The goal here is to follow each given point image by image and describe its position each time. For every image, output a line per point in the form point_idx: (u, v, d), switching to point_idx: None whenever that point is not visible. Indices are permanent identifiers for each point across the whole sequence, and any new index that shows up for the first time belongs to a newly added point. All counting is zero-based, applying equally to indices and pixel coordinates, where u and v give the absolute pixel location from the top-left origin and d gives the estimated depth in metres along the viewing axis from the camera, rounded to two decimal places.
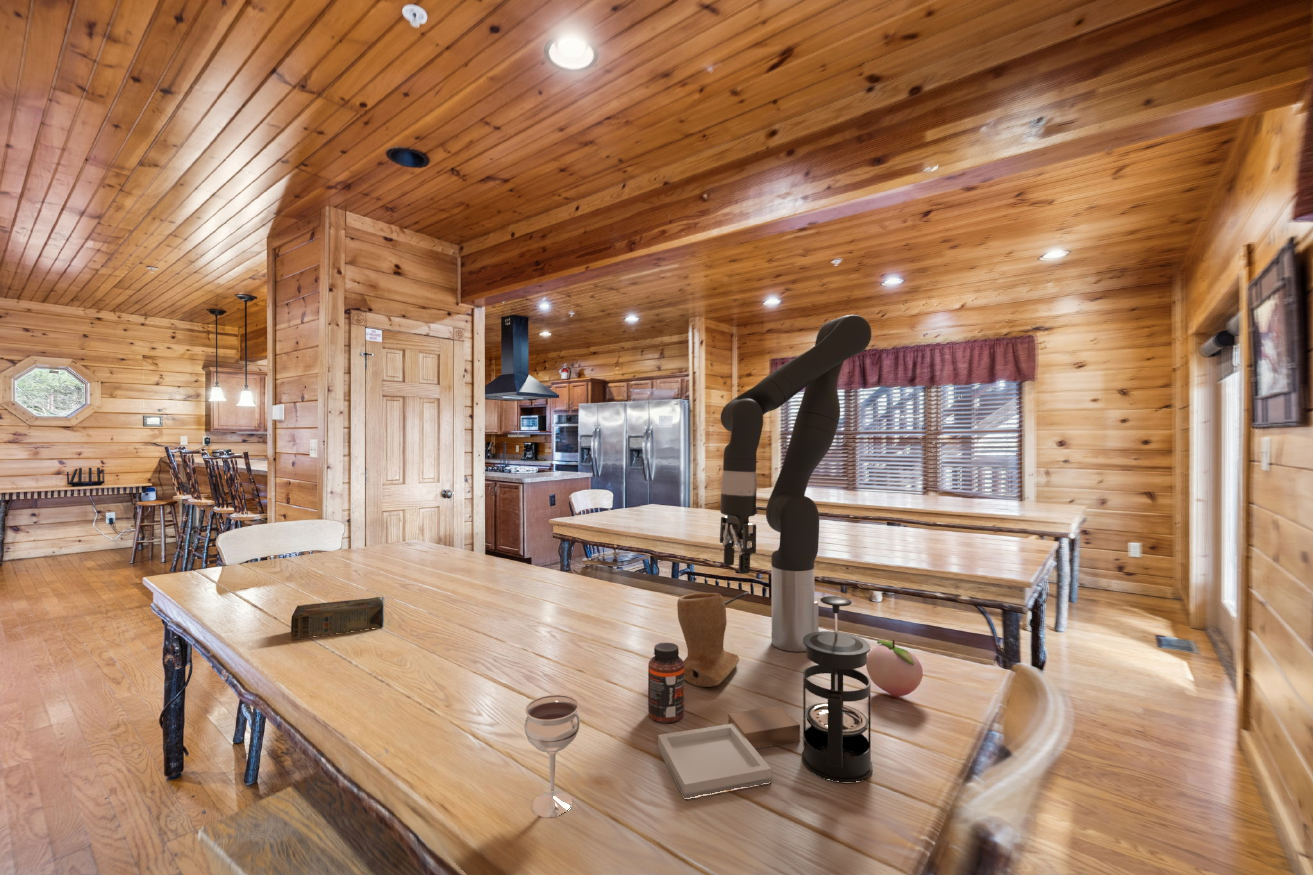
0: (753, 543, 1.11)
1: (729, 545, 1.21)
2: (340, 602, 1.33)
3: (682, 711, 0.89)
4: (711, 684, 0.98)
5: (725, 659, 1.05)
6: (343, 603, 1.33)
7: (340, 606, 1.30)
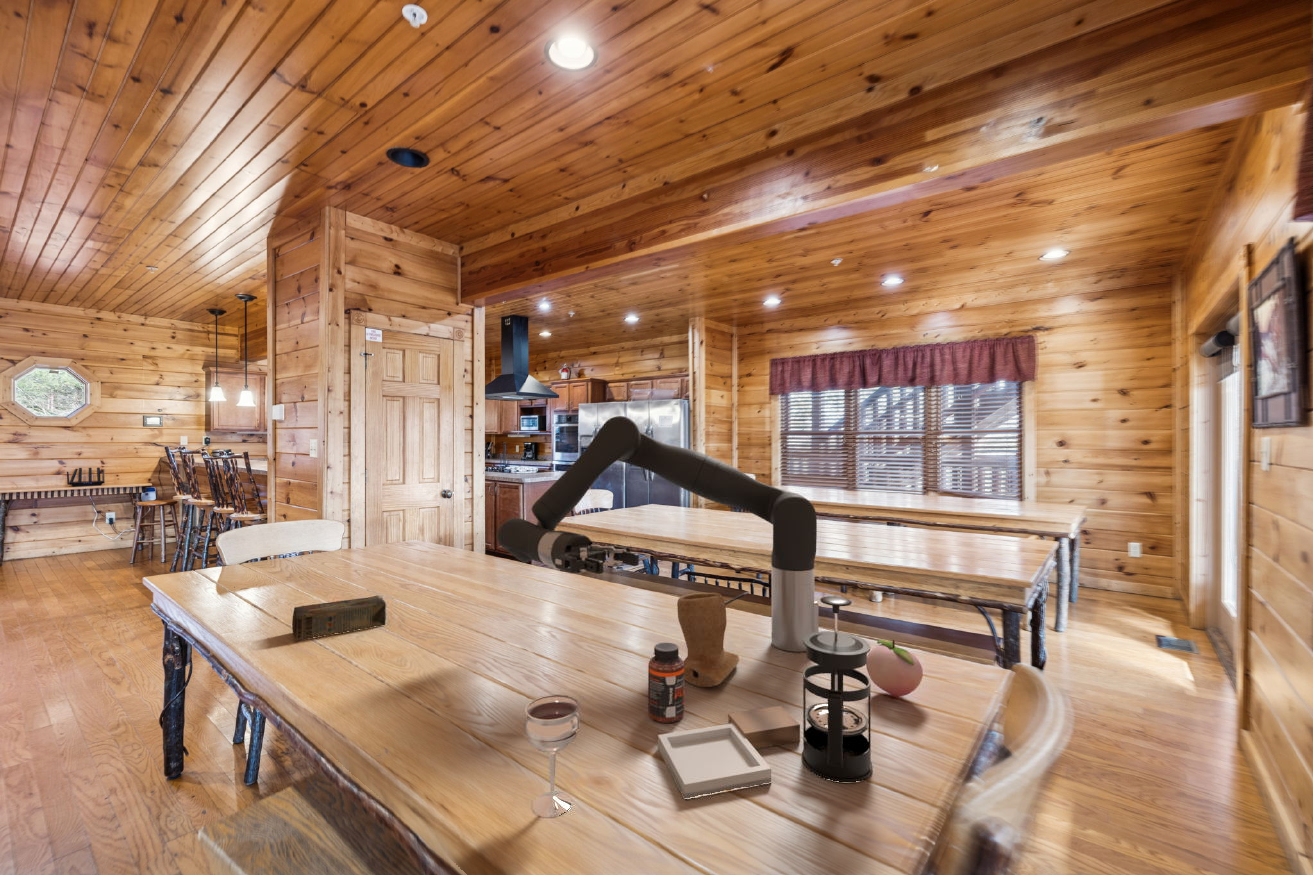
0: (567, 559, 0.98)
1: (621, 556, 1.04)
2: (339, 602, 1.33)
3: (682, 711, 0.89)
4: (711, 684, 0.98)
5: (725, 659, 1.05)
6: (342, 603, 1.33)
7: (341, 606, 1.31)
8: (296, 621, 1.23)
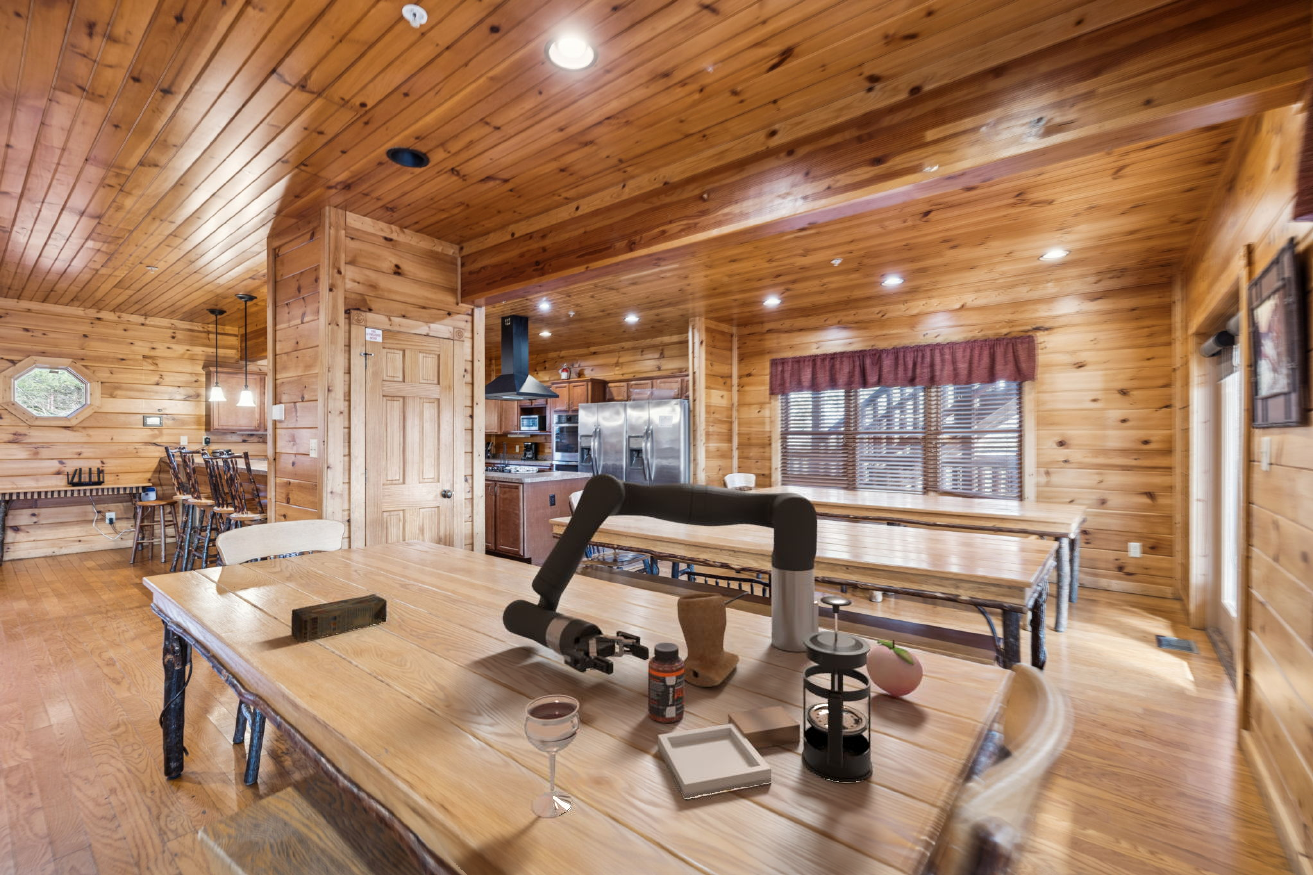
0: None
1: (630, 648, 1.02)
2: (337, 602, 1.33)
3: (682, 711, 0.89)
4: (711, 684, 0.98)
5: (725, 659, 1.05)
6: (341, 602, 1.33)
7: (342, 605, 1.31)
8: (302, 622, 1.23)
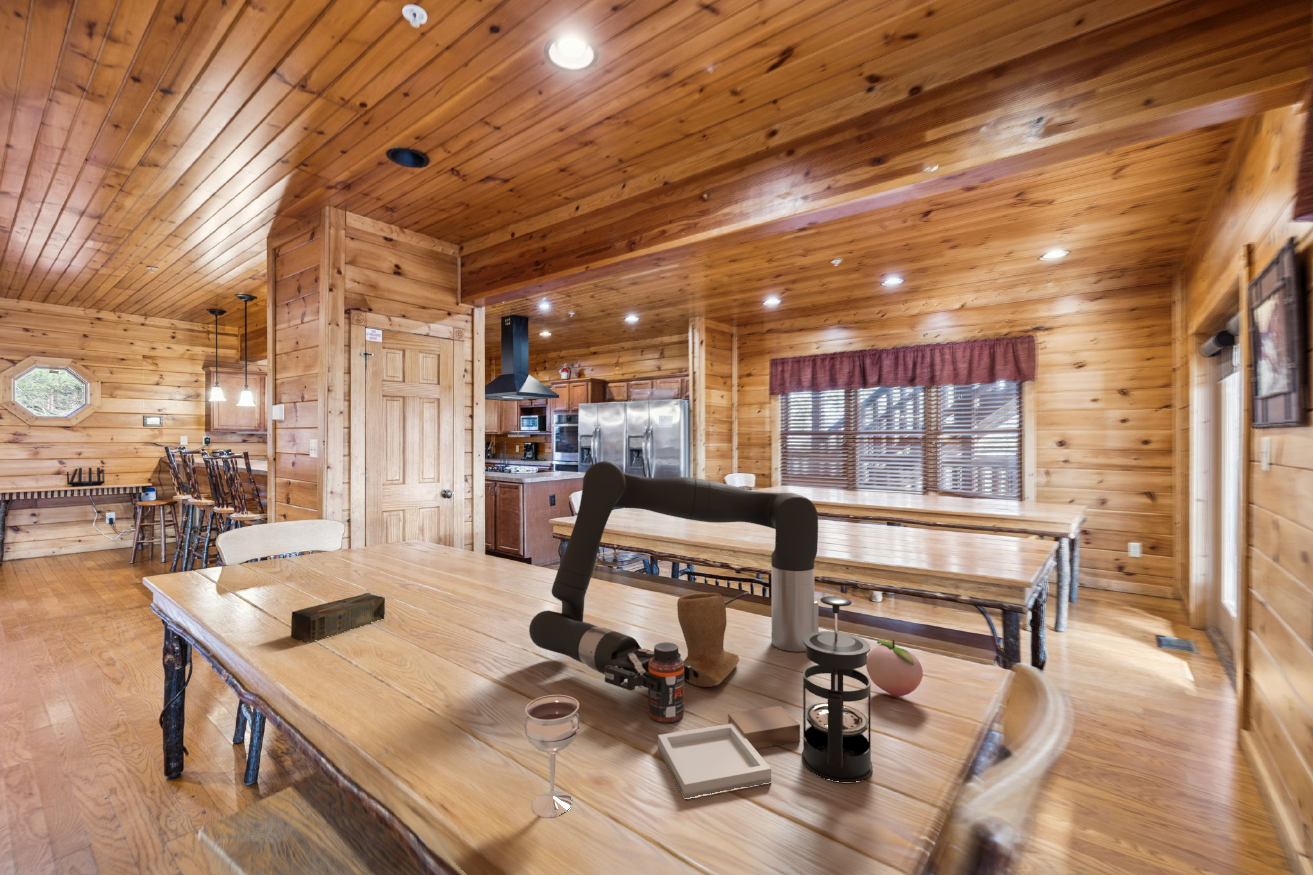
0: None
1: None
2: (334, 602, 1.33)
3: (682, 711, 0.89)
4: (711, 684, 0.98)
5: (725, 659, 1.05)
6: (339, 602, 1.33)
7: (343, 604, 1.32)
8: (310, 622, 1.22)
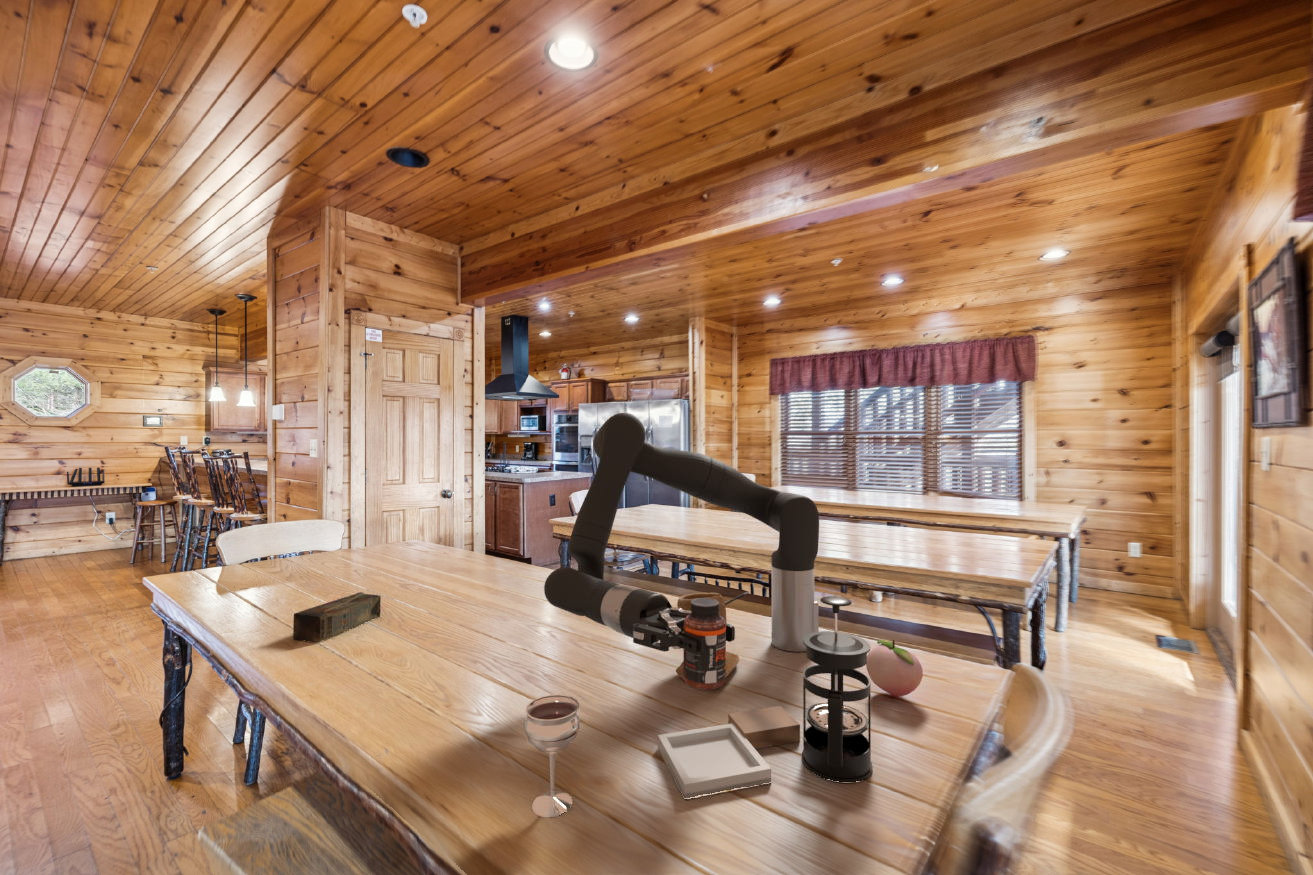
0: None
1: None
2: (332, 602, 1.33)
3: (724, 677, 0.76)
4: None
5: None
6: (337, 602, 1.33)
7: (344, 604, 1.32)
8: (320, 622, 1.23)
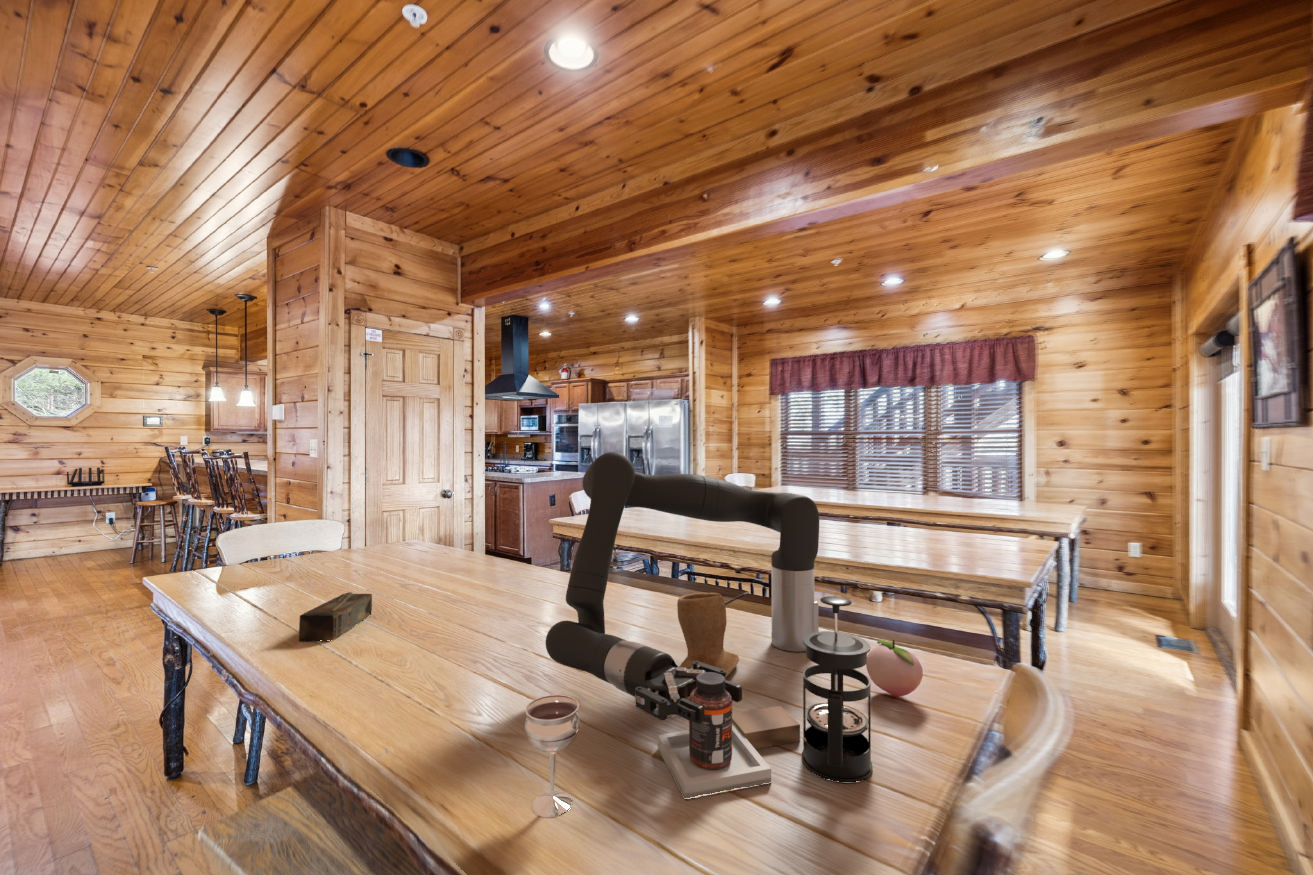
0: None
1: None
2: (329, 603, 1.32)
3: (730, 755, 0.75)
4: None
5: (725, 659, 1.05)
6: (334, 602, 1.33)
7: (343, 603, 1.33)
8: (333, 620, 1.24)
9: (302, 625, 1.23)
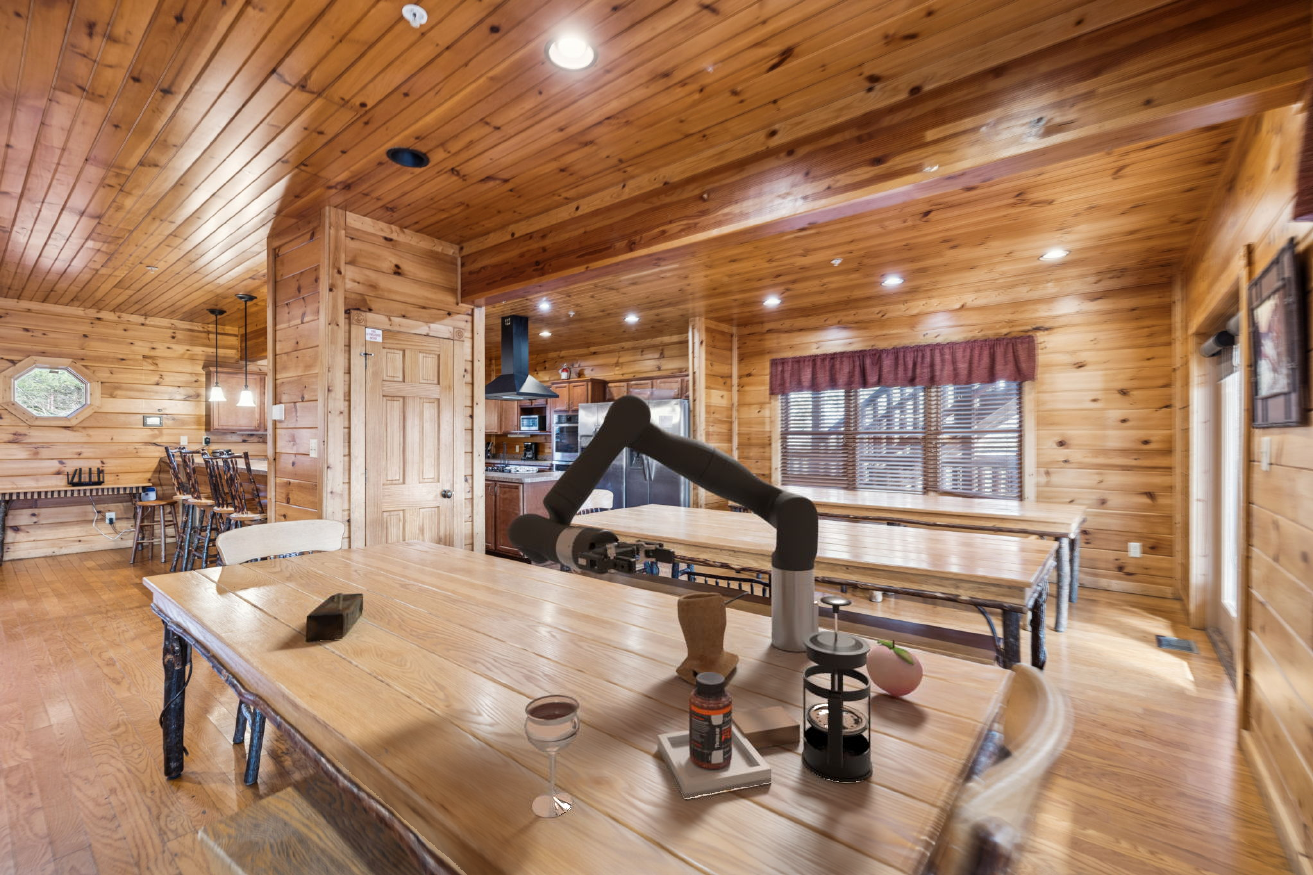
0: None
1: (653, 553, 0.90)
2: (327, 603, 1.32)
3: (730, 755, 0.75)
4: None
5: (725, 659, 1.05)
6: (332, 603, 1.33)
7: (342, 603, 1.33)
8: (343, 619, 1.25)
9: (310, 625, 1.23)
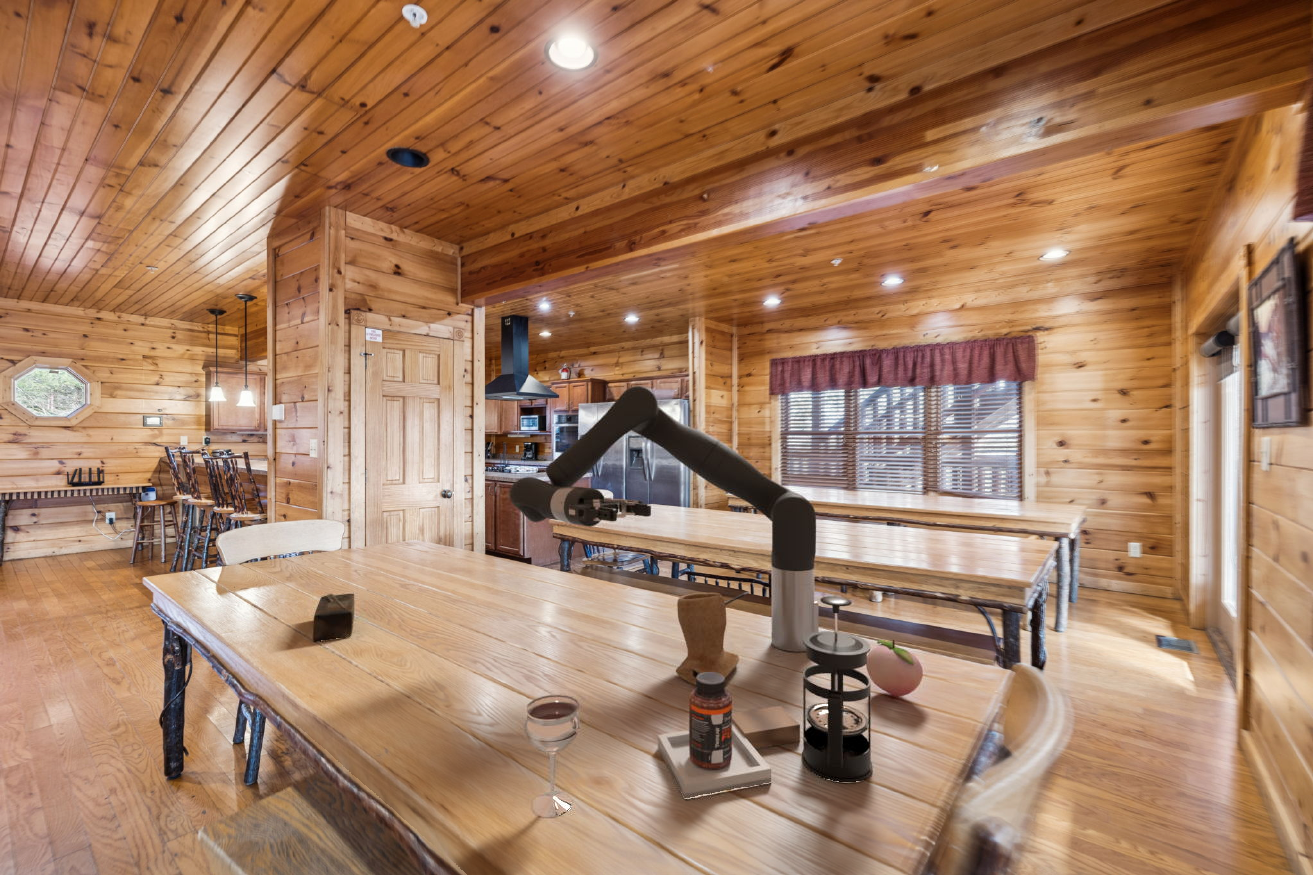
0: None
1: (633, 509, 1.05)
2: (325, 604, 1.31)
3: (730, 755, 0.75)
4: None
5: (725, 659, 1.05)
6: (330, 603, 1.32)
7: (341, 602, 1.33)
8: (352, 617, 1.26)
9: (318, 625, 1.23)
